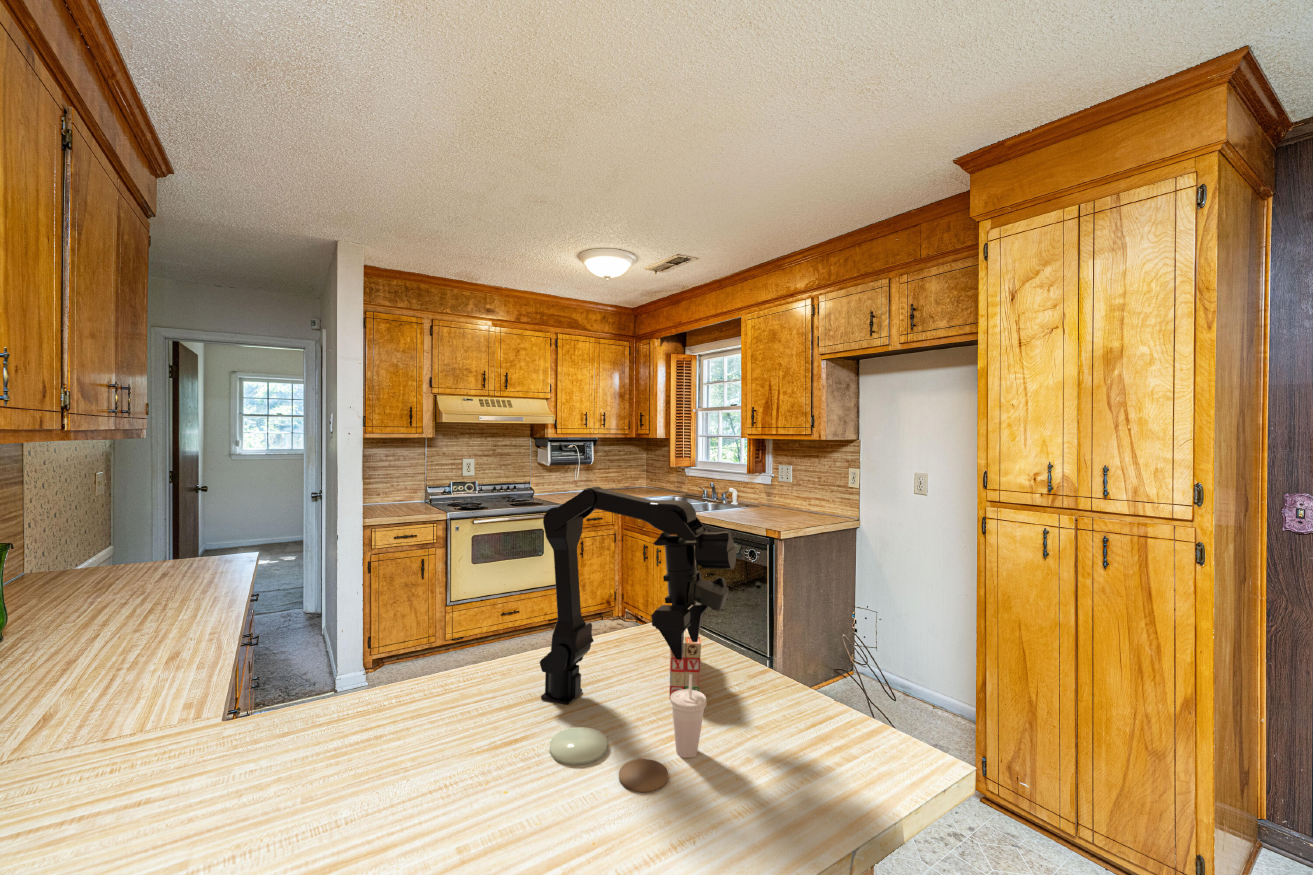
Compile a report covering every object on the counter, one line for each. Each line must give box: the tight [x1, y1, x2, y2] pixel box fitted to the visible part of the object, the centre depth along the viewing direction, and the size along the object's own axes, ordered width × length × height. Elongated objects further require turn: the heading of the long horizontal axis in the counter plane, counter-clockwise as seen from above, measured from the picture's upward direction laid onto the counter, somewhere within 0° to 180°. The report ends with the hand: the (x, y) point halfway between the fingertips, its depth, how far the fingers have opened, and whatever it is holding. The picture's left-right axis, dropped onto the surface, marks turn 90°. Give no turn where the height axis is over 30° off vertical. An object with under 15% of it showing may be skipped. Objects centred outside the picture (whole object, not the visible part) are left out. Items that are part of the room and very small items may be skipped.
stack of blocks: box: [668, 629, 702, 700], centre depth 130 cm, size 21×6×12 cm, turn 179°
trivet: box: [618, 758, 669, 794], centre depth 93 cm, size 8×8×1 cm
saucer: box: [548, 726, 608, 766], centre depth 101 cm, size 10×10×1 cm
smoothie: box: [669, 673, 707, 759], centre depth 101 cm, size 6×6×14 cm
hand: (687, 650), depth 110 cm, fingers open, 9 cm apart
